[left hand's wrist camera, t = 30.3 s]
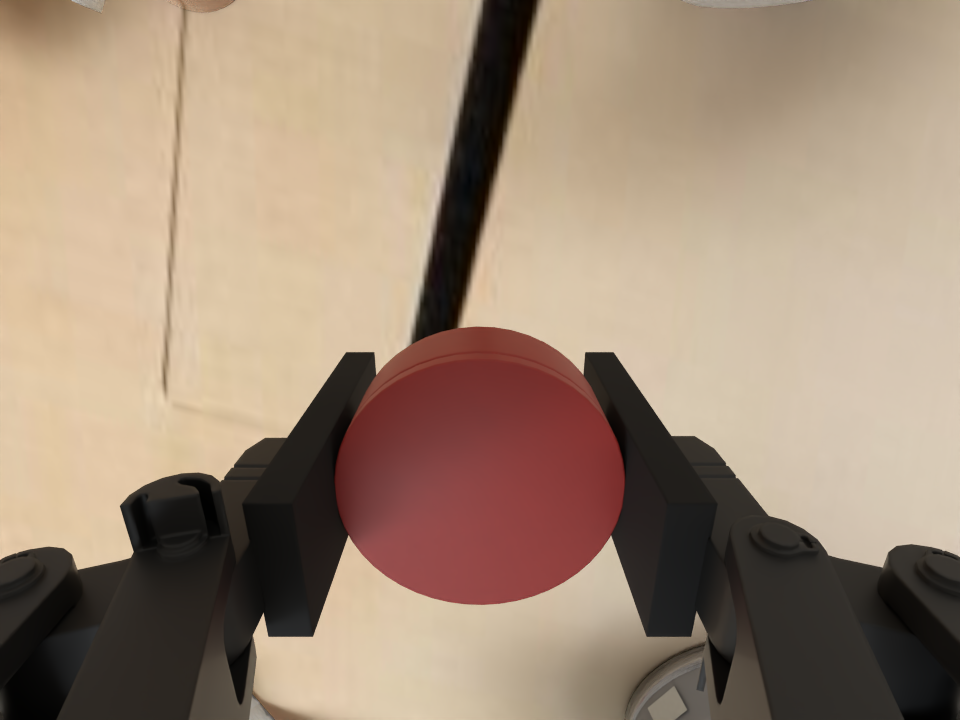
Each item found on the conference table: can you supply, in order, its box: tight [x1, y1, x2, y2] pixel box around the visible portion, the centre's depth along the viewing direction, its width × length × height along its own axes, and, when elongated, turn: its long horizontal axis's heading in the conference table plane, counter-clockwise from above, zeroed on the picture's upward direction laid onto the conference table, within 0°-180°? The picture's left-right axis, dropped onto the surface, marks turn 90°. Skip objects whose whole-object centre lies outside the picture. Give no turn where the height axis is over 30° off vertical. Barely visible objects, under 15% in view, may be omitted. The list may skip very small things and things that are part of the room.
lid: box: [334, 327, 625, 605], centre depth 11 cm, size 6×6×2 cm
